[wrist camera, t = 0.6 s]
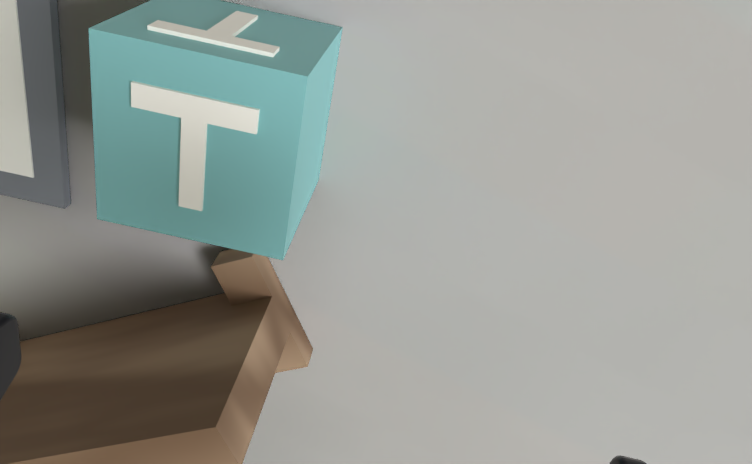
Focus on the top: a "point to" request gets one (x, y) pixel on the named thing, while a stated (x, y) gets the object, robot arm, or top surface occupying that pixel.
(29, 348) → the brown wooden block
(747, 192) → the top surface
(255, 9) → the letter cube
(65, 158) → the pad
